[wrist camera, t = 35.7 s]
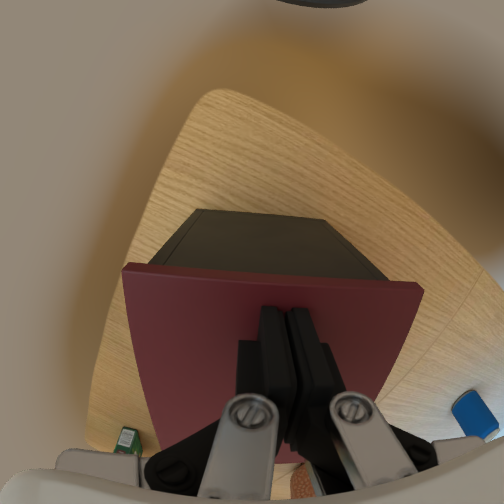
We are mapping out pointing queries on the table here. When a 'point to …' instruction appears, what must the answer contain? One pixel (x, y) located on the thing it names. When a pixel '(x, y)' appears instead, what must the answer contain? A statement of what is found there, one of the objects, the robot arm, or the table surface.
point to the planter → (301, 484)
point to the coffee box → (128, 442)
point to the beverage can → (475, 416)
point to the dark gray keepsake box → (264, 246)
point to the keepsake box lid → (250, 334)
